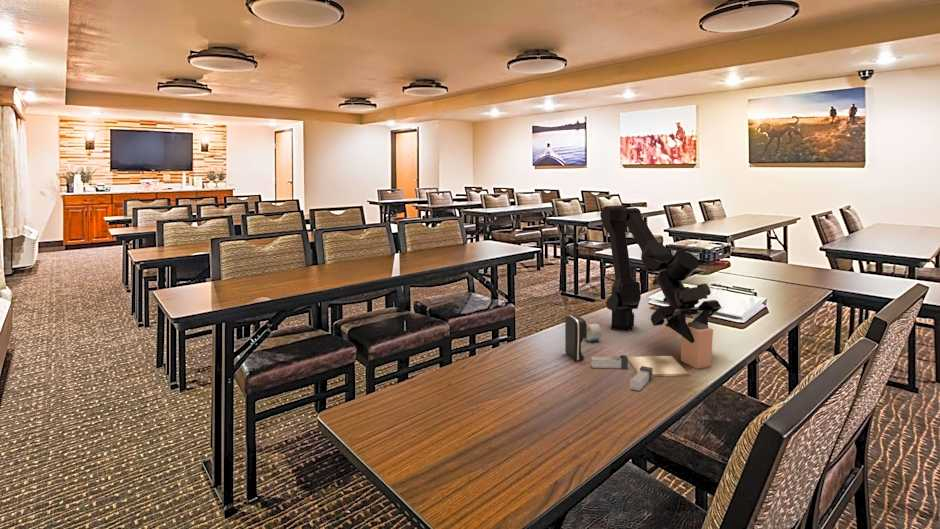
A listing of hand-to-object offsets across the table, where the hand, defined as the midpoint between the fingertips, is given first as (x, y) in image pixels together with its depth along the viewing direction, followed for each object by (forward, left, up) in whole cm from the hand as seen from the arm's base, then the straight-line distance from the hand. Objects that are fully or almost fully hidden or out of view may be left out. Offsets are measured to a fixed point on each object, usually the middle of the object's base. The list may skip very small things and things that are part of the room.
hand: (700, 341), depth 135 cm
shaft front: (-15, -15, -7) cm, 22 cm away
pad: (-11, -3, -7) cm, 13 cm away
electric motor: (-28, +14, -7) cm, 32 cm away
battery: (-31, 0, -7) cm, 32 cm away
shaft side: (-23, -6, -7) cm, 24 cm away
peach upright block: (-1, +1, -7) cm, 7 cm away
